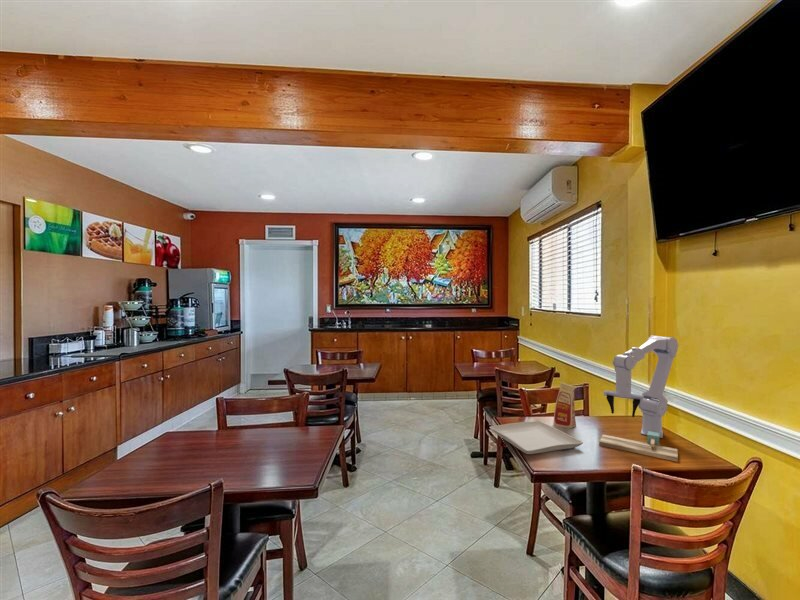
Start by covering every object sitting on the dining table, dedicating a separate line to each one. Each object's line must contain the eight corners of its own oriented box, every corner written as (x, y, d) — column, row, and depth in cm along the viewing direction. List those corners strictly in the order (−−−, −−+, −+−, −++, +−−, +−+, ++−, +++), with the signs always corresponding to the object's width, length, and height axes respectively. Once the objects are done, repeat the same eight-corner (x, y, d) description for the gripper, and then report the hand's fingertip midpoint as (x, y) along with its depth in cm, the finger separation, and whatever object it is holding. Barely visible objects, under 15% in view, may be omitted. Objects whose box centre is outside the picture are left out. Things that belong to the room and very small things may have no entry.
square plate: (488, 434, 168) (488, 425, 168) (539, 428, 177) (539, 419, 176) (526, 459, 142) (526, 449, 142) (584, 451, 151) (584, 441, 151)
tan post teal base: (647, 442, 159) (647, 430, 159) (659, 445, 157) (659, 433, 157) (646, 452, 149) (646, 439, 149) (658, 454, 147) (658, 441, 147)
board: (602, 437, 164) (602, 434, 164) (677, 452, 149) (677, 448, 149) (599, 445, 156) (599, 441, 156) (677, 461, 141) (677, 457, 141)
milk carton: (553, 425, 180) (553, 383, 180) (557, 419, 187) (558, 379, 187) (574, 429, 175) (574, 385, 174) (577, 423, 182) (578, 382, 182)
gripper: (603, 382, 164) (602, 413, 164) (642, 387, 155) (642, 420, 155) (605, 379, 169) (604, 409, 170) (643, 384, 161) (643, 416, 161)
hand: (622, 414), depth 163 cm, fingers open, 7 cm apart
